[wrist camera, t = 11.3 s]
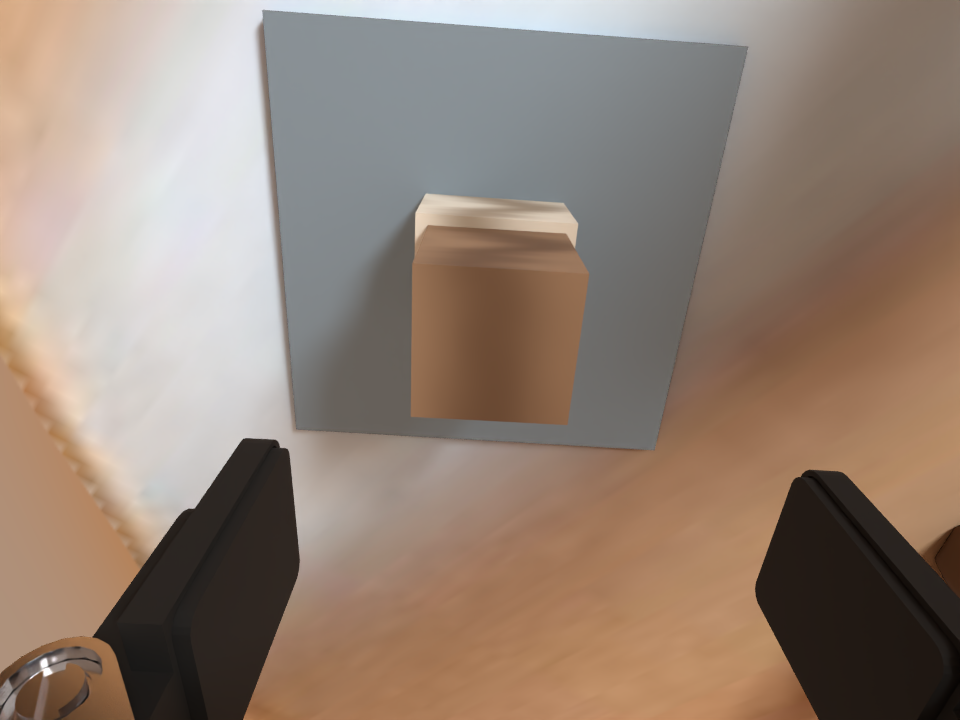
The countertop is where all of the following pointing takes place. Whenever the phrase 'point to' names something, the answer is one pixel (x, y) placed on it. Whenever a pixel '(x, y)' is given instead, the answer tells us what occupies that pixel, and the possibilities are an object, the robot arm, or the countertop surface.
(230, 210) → the countertop surface
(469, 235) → the walnut cube
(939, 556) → the beer bottle
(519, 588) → the countertop surface
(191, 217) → the countertop surface
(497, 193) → the board
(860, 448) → the countertop surface
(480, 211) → the cream base block
